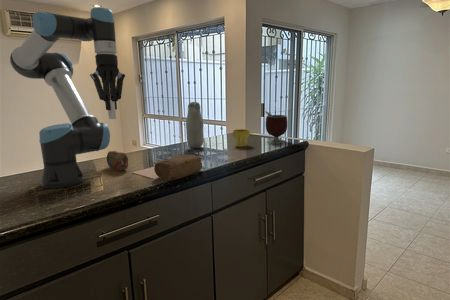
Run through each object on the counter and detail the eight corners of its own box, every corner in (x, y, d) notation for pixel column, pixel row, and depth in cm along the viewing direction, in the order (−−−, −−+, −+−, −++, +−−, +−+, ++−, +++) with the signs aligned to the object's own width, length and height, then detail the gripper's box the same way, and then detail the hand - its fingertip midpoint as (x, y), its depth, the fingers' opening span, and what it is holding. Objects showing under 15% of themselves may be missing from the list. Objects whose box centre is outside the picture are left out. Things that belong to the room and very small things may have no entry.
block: (171, 182, 119) (204, 171, 135) (171, 164, 117) (203, 154, 133) (153, 177, 125) (186, 167, 141) (152, 160, 123) (185, 151, 139)
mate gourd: (290, 141, 198) (291, 110, 194) (280, 144, 188) (281, 112, 184) (270, 139, 208) (270, 110, 204) (259, 142, 197) (259, 111, 193)
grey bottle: (184, 149, 183) (181, 102, 177) (192, 146, 192) (190, 101, 186) (199, 150, 179) (196, 102, 173) (206, 146, 188) (204, 101, 182)
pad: (155, 179, 123) (155, 179, 123) (132, 172, 134) (132, 172, 134) (191, 168, 138) (191, 168, 138) (167, 163, 149) (167, 163, 149)
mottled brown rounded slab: (107, 167, 145) (105, 150, 144) (113, 166, 148) (111, 149, 146) (124, 172, 136) (122, 154, 134) (130, 170, 138) (128, 152, 136)
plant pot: (250, 147, 184) (250, 131, 182) (233, 147, 184) (232, 131, 182) (249, 143, 194) (248, 128, 192) (232, 144, 194) (232, 129, 192)
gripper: (93, 52, 103) (101, 121, 108) (127, 54, 113) (133, 117, 118) (83, 54, 108) (91, 119, 113) (116, 56, 118) (122, 116, 123)
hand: (112, 118), depth 116 cm, fingers closed
